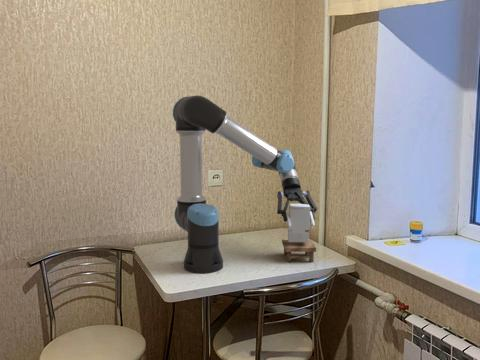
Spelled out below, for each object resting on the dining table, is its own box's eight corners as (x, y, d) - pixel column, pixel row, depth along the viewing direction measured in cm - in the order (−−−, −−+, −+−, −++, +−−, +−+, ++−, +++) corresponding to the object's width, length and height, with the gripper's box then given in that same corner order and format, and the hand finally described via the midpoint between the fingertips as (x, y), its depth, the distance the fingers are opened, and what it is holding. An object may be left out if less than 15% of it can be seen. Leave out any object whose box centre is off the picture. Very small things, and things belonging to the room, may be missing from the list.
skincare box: (288, 242, 174) (289, 205, 172) (287, 238, 180) (288, 202, 178) (309, 242, 173) (310, 206, 171) (308, 238, 179) (309, 203, 177)
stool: (285, 262, 172) (285, 248, 171) (281, 253, 183) (282, 239, 183) (315, 262, 172) (316, 248, 171) (310, 253, 184) (310, 239, 183)
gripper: (312, 186, 191) (324, 230, 178) (263, 187, 187) (273, 233, 173) (316, 175, 185) (330, 221, 172) (267, 177, 181) (276, 223, 168)
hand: (301, 227), depth 173 cm, fingers closed on skincare box, 9 cm apart
